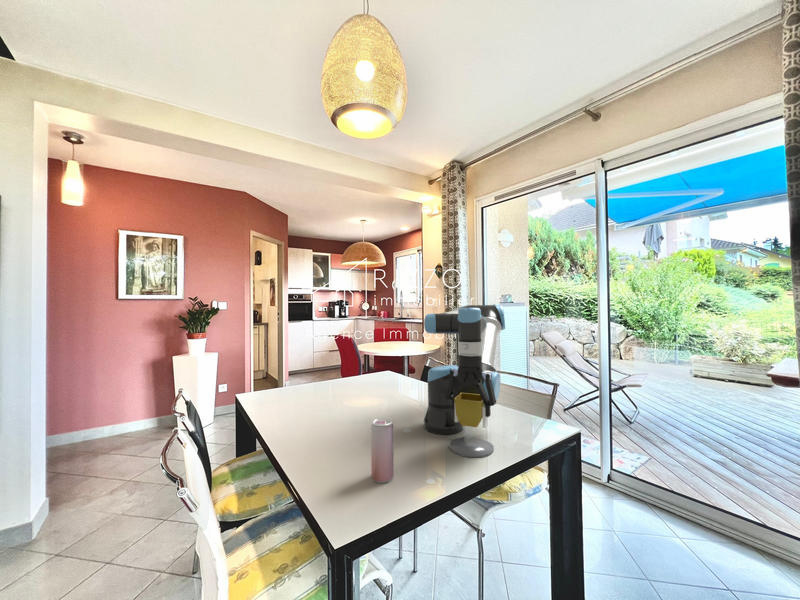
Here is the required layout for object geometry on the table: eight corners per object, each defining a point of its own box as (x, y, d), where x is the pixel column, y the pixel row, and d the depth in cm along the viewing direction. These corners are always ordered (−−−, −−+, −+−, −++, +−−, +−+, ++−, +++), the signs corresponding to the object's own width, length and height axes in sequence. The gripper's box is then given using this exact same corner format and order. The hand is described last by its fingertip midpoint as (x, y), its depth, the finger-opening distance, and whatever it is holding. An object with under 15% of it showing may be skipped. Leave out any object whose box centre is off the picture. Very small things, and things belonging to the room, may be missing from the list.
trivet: (442, 450, 103) (442, 448, 103) (460, 436, 115) (460, 434, 115) (485, 461, 96) (485, 459, 96) (499, 445, 107) (499, 442, 107)
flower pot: (487, 422, 107) (486, 394, 108) (482, 431, 99) (481, 401, 100) (460, 418, 111) (460, 392, 111) (454, 426, 103) (453, 398, 103)
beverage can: (371, 473, 89) (371, 418, 90) (392, 471, 90) (392, 417, 90) (371, 484, 84) (371, 426, 84) (394, 483, 84) (393, 425, 85)
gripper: (435, 353, 109) (436, 420, 108) (499, 358, 97) (500, 434, 96) (445, 351, 115) (445, 414, 115) (506, 355, 103) (507, 426, 103)
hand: (471, 423), depth 105 cm, fingers closed on flower pot, 9 cm apart
